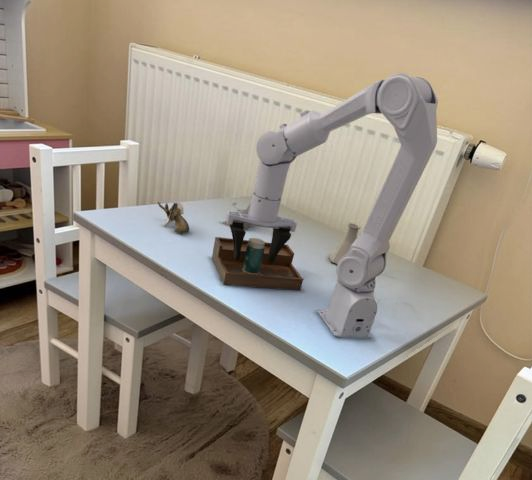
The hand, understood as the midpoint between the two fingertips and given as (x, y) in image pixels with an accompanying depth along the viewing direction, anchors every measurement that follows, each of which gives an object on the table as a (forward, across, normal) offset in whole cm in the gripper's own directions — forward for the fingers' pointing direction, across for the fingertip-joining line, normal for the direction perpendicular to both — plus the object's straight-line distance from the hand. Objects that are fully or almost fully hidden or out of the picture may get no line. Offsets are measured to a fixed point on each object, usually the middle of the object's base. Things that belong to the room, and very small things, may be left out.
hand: (253, 259), depth 108 cm
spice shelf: (+4, -2, -2) cm, 6 cm away
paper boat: (+5, -7, -34) cm, 35 cm away
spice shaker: (+2, 0, 0) cm, 2 cm away
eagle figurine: (+5, +13, -26) cm, 30 cm away
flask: (+5, -29, -14) cm, 33 cm away
